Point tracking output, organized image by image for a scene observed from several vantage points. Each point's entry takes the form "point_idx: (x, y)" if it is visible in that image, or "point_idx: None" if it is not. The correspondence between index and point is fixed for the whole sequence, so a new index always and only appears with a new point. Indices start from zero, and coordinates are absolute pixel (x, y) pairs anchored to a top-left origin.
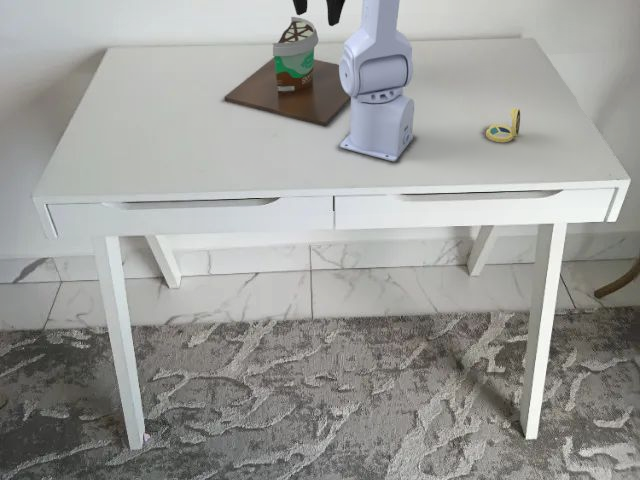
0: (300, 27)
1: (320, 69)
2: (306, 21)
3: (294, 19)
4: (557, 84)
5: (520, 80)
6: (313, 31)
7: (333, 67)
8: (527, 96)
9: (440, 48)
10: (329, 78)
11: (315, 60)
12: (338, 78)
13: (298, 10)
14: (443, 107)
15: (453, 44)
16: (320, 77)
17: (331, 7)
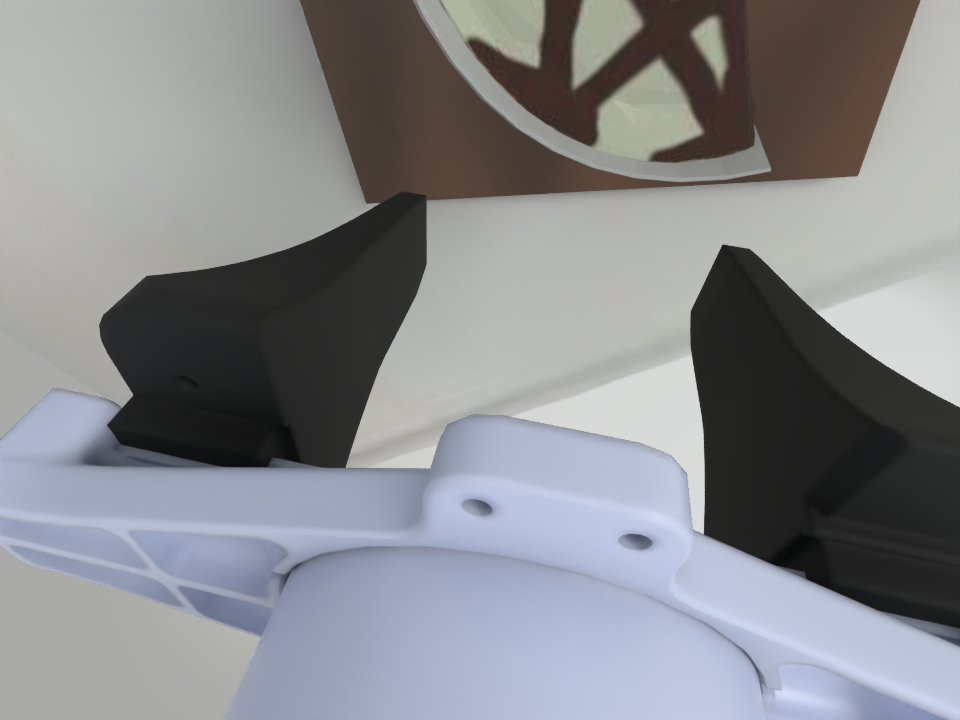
0: (628, 75)
1: None
2: (604, 162)
3: (733, 161)
4: (45, 356)
5: (98, 344)
6: (480, 58)
7: (523, 159)
8: (15, 284)
9: None
10: None
11: (635, 180)
12: (442, 73)
13: (731, 262)
14: (42, 108)
15: None
16: None
17: (314, 244)
